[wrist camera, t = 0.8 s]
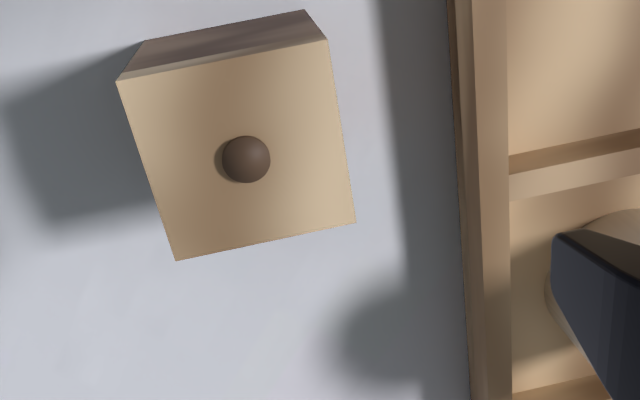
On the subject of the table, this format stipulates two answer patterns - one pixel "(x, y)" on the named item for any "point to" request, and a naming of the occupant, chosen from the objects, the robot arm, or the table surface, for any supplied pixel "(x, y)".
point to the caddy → (537, 172)
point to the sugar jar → (620, 224)
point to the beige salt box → (239, 133)
